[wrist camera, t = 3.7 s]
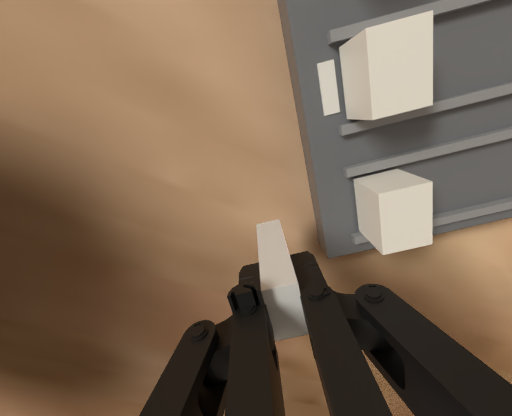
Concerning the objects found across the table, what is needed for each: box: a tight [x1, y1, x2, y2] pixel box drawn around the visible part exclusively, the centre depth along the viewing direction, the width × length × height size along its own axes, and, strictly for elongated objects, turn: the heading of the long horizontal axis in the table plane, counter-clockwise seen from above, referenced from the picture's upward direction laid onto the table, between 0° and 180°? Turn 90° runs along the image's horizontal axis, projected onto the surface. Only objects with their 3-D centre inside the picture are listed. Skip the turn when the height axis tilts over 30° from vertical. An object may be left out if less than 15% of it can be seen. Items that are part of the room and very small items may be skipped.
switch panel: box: [277, 0, 512, 259], centre depth 16 cm, size 16×24×3 cm, turn 14°
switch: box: [353, 169, 433, 255], centre depth 16 cm, size 3×4×4 cm
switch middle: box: [339, 10, 433, 120], centre depth 14 cm, size 3×4×4 cm
